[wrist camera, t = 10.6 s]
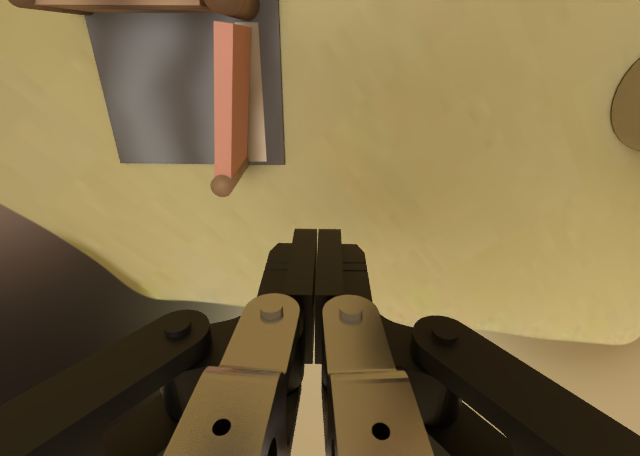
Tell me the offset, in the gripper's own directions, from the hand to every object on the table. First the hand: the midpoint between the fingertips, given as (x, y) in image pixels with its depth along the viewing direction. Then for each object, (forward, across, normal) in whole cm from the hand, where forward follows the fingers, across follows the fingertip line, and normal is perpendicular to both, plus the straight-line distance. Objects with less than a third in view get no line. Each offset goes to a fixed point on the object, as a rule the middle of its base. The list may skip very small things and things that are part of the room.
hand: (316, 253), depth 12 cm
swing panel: (+21, +7, -2) cm, 22 cm away
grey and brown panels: (+22, +11, -4) cm, 25 cm away
